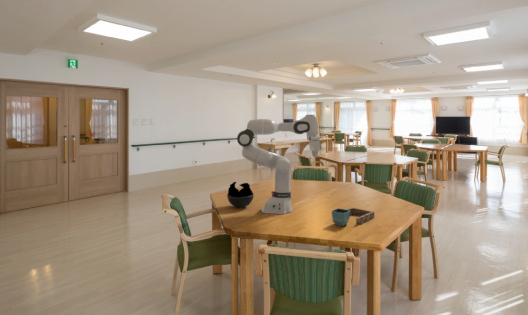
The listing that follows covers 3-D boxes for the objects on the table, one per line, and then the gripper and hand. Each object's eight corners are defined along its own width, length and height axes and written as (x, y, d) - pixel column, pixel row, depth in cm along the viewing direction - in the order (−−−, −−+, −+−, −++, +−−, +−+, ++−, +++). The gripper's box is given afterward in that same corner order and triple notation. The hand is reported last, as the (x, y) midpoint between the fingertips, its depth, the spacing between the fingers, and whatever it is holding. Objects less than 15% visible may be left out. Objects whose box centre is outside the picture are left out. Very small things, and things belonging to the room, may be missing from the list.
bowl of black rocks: (257, 209, 240) (256, 184, 238) (230, 211, 234) (229, 186, 232) (249, 203, 259) (249, 179, 257) (224, 205, 253) (224, 181, 251)
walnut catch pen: (358, 224, 203) (358, 218, 202) (335, 219, 214) (335, 213, 214) (374, 217, 218) (374, 211, 218) (351, 213, 229) (352, 207, 229)
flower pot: (337, 221, 210) (337, 208, 209) (350, 224, 204) (350, 210, 203) (331, 225, 203) (331, 210, 202) (344, 227, 197) (344, 213, 196)
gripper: (306, 137, 241) (308, 155, 243) (311, 138, 221) (313, 158, 223) (314, 136, 242) (316, 154, 243) (320, 137, 221) (322, 157, 223)
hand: (315, 156), depth 233 cm, fingers open, 8 cm apart
